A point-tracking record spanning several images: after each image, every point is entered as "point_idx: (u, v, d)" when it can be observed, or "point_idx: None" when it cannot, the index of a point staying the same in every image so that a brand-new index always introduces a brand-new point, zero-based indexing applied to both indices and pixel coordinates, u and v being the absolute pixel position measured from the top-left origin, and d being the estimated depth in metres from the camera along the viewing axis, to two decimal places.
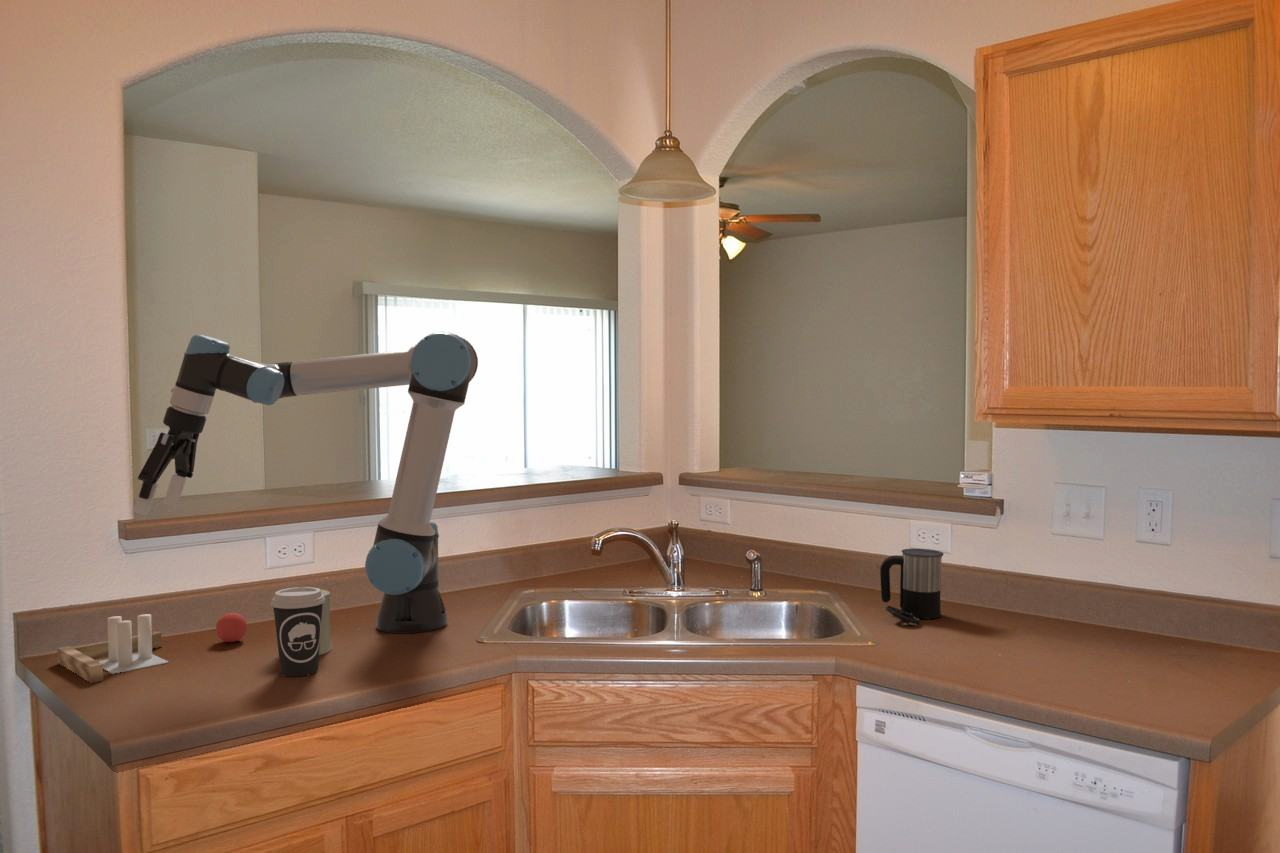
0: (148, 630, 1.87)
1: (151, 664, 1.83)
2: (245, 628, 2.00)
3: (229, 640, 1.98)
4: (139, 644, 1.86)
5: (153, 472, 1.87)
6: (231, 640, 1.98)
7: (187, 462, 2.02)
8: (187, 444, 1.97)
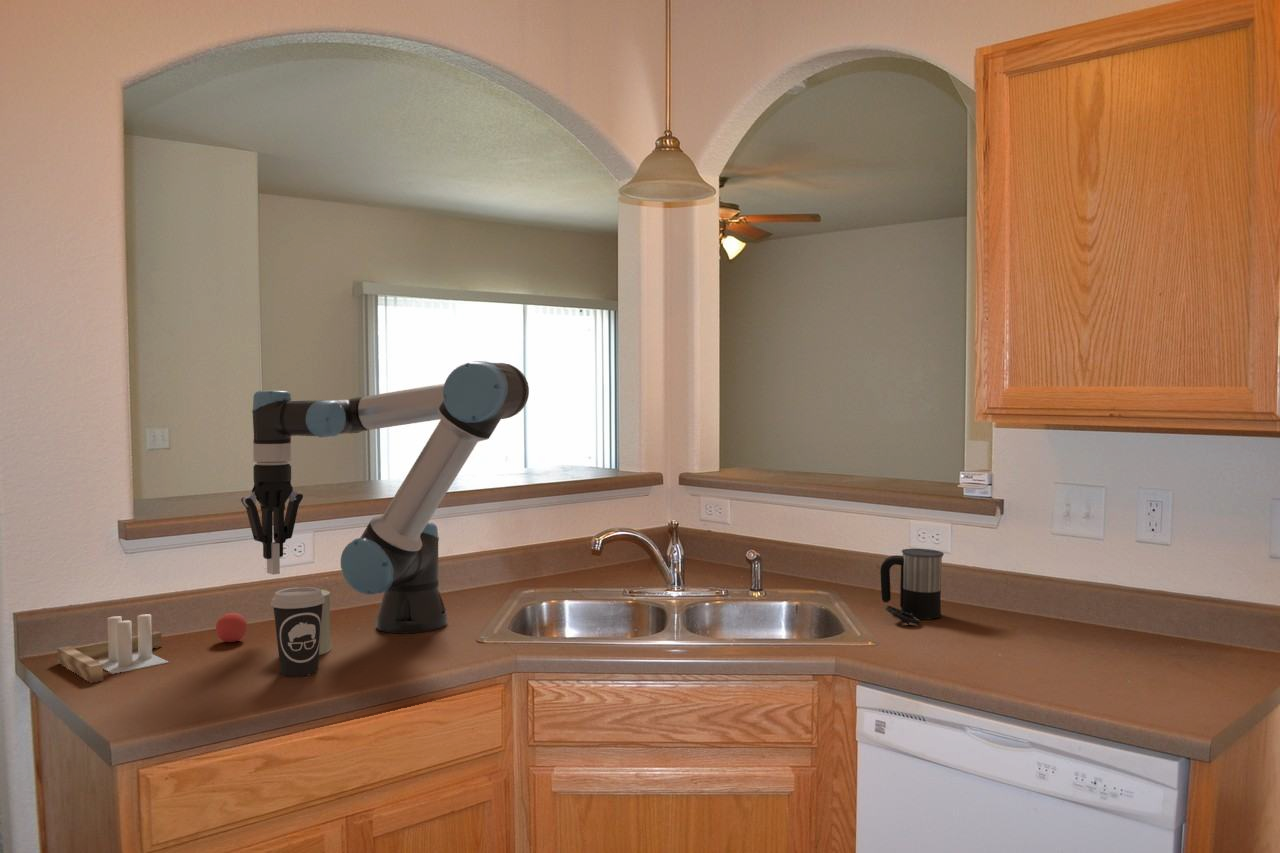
0: (148, 630, 1.87)
1: (151, 664, 1.83)
2: (245, 628, 2.00)
3: (229, 640, 1.98)
4: (139, 644, 1.86)
5: (257, 534, 2.03)
6: (231, 640, 1.98)
7: (281, 522, 2.06)
8: (279, 493, 2.05)
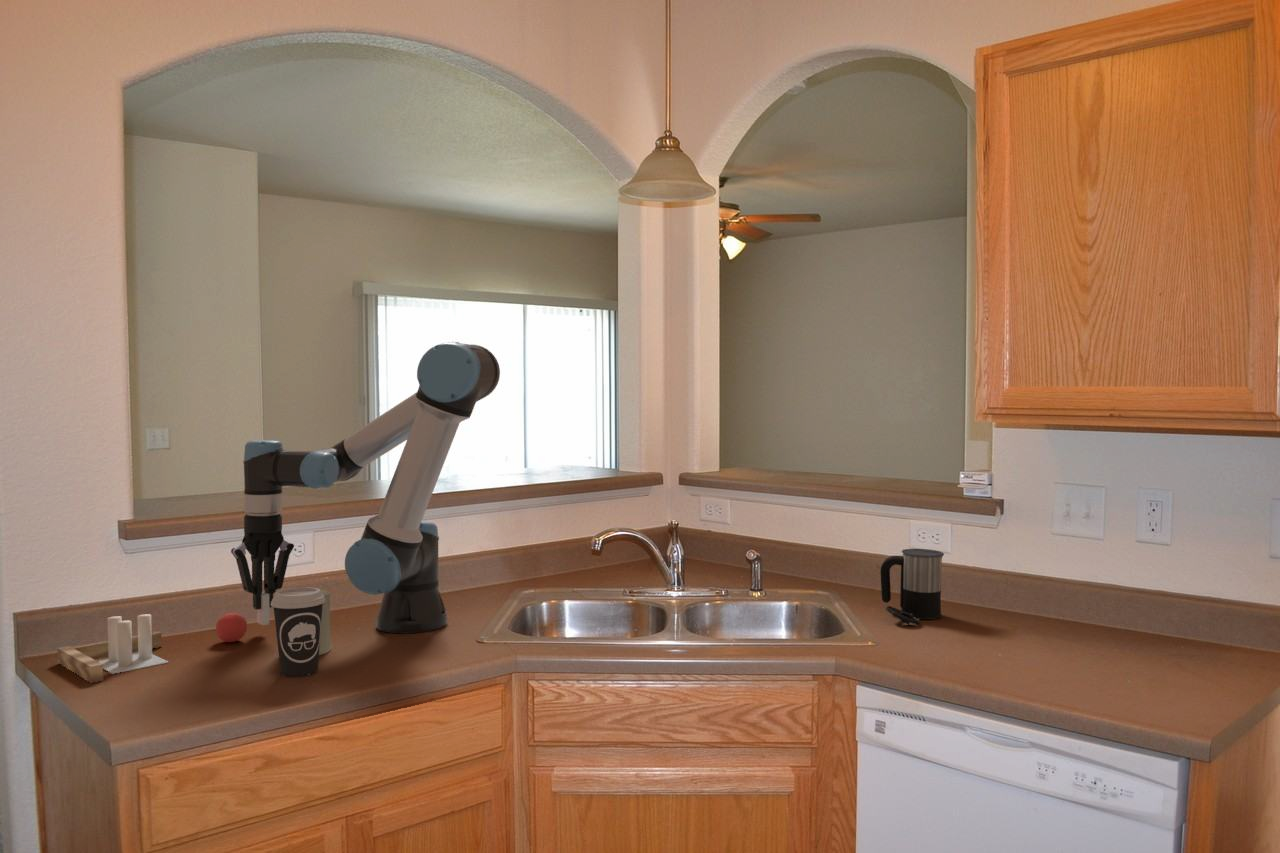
0: (148, 630, 1.87)
1: (151, 664, 1.83)
2: (245, 628, 2.00)
3: (229, 640, 1.98)
4: (139, 644, 1.86)
5: (246, 585, 2.02)
6: (231, 640, 1.98)
7: (271, 572, 2.05)
8: (269, 544, 2.04)
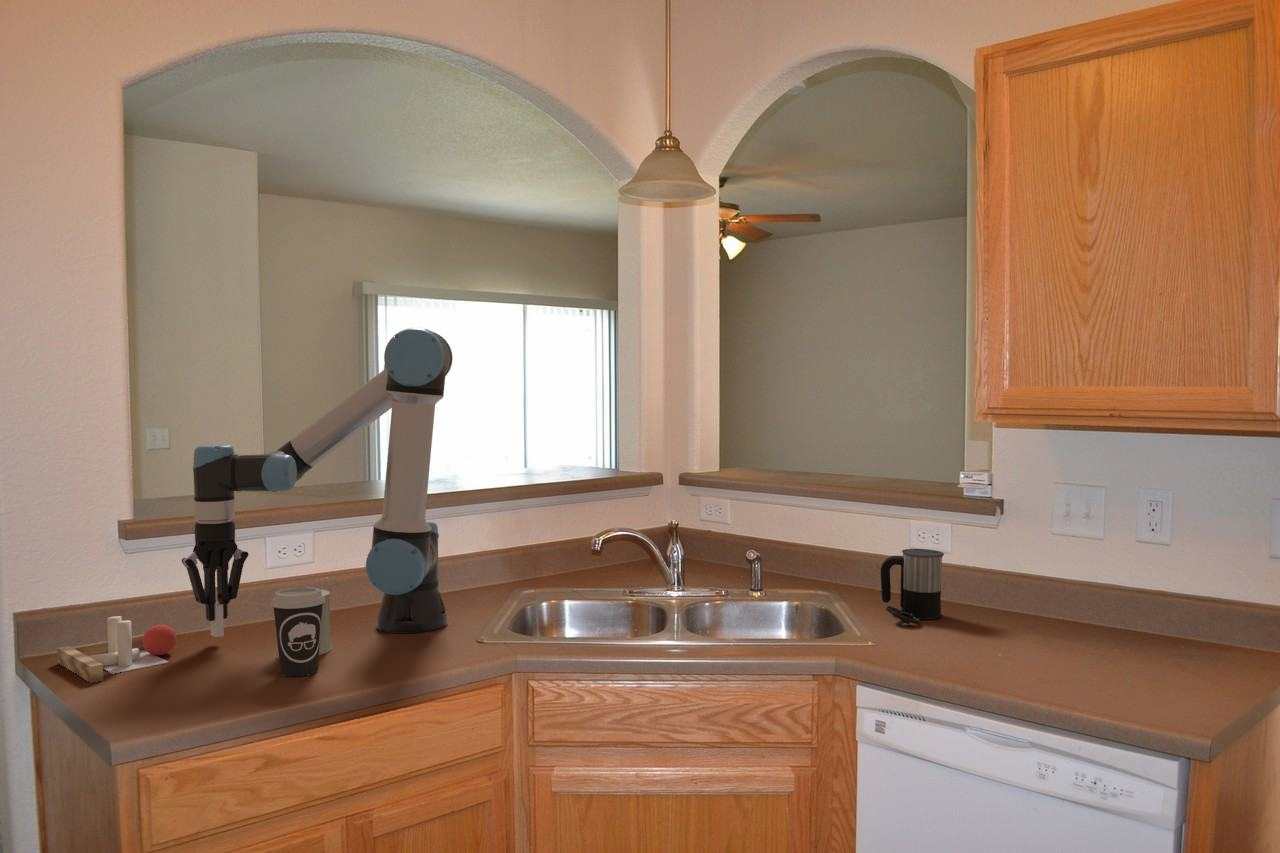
0: (107, 659, 1.82)
1: (151, 664, 1.83)
2: (160, 650, 1.88)
3: (153, 633, 1.88)
4: None
5: (198, 596, 1.94)
6: (152, 634, 1.88)
7: (225, 582, 1.98)
8: (222, 552, 1.96)
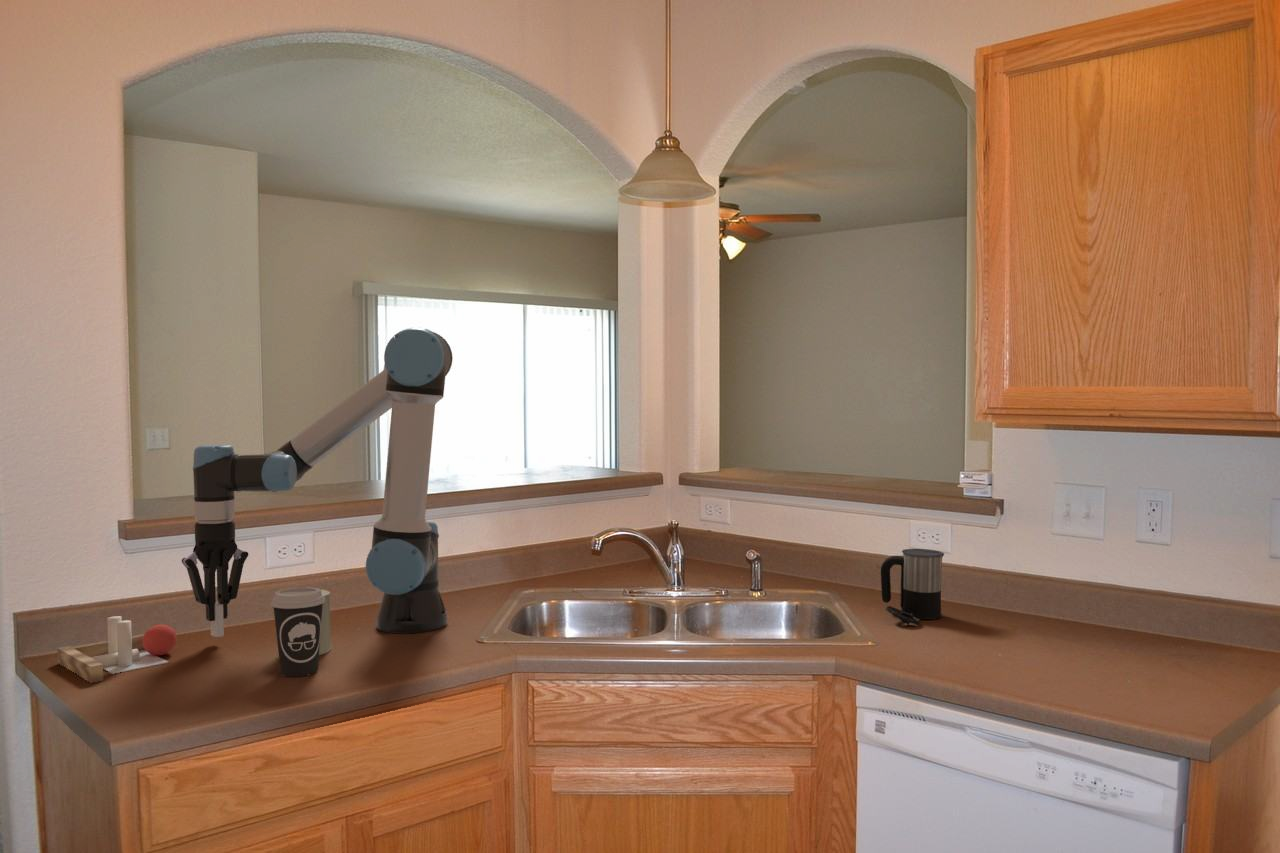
0: (106, 660, 1.82)
1: (151, 664, 1.83)
2: (160, 650, 1.88)
3: (152, 633, 1.88)
4: None
5: (198, 596, 1.94)
6: (152, 634, 1.88)
7: (225, 582, 1.98)
8: (222, 552, 1.96)
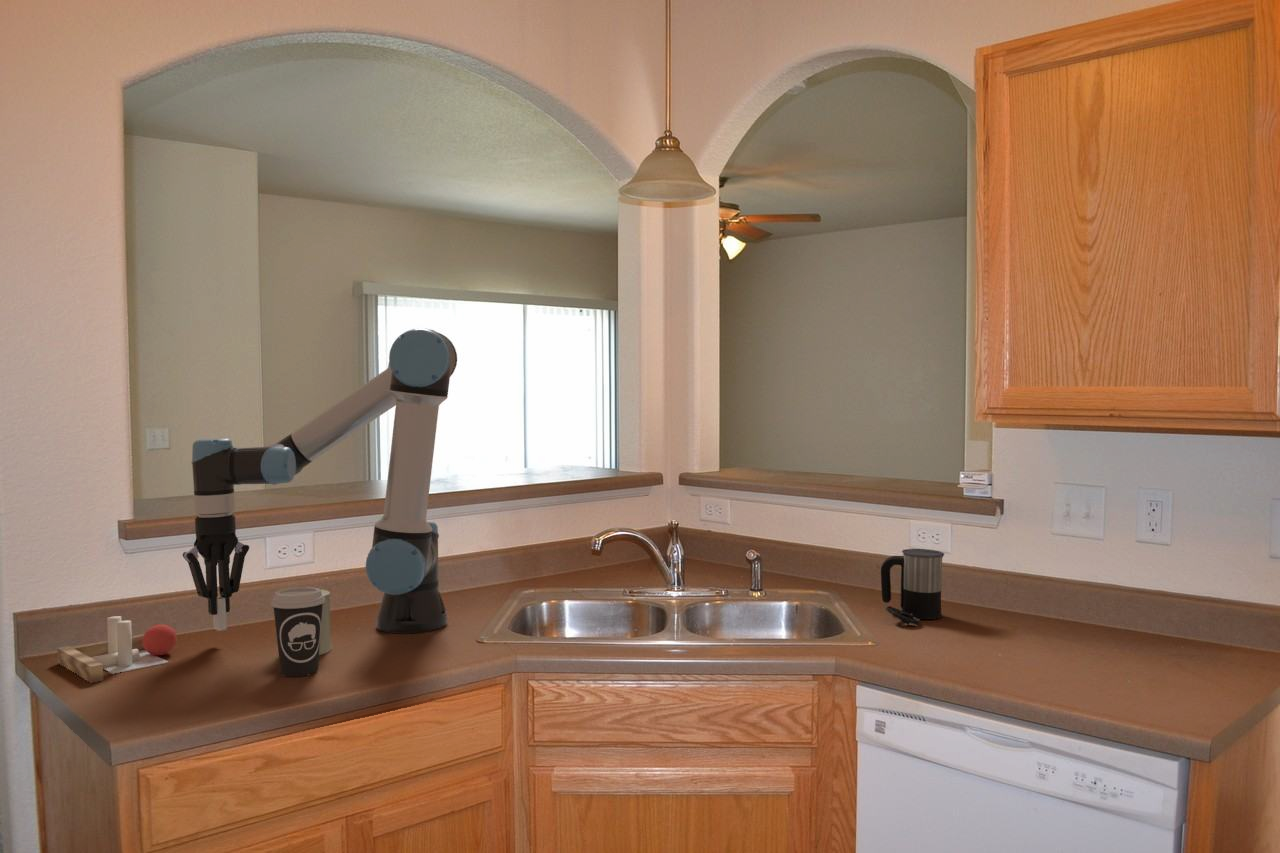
0: (106, 660, 1.82)
1: (151, 664, 1.83)
2: (160, 650, 1.88)
3: (152, 633, 1.88)
4: None
5: (200, 590, 1.94)
6: (152, 634, 1.88)
7: (226, 576, 1.98)
8: (223, 546, 1.96)
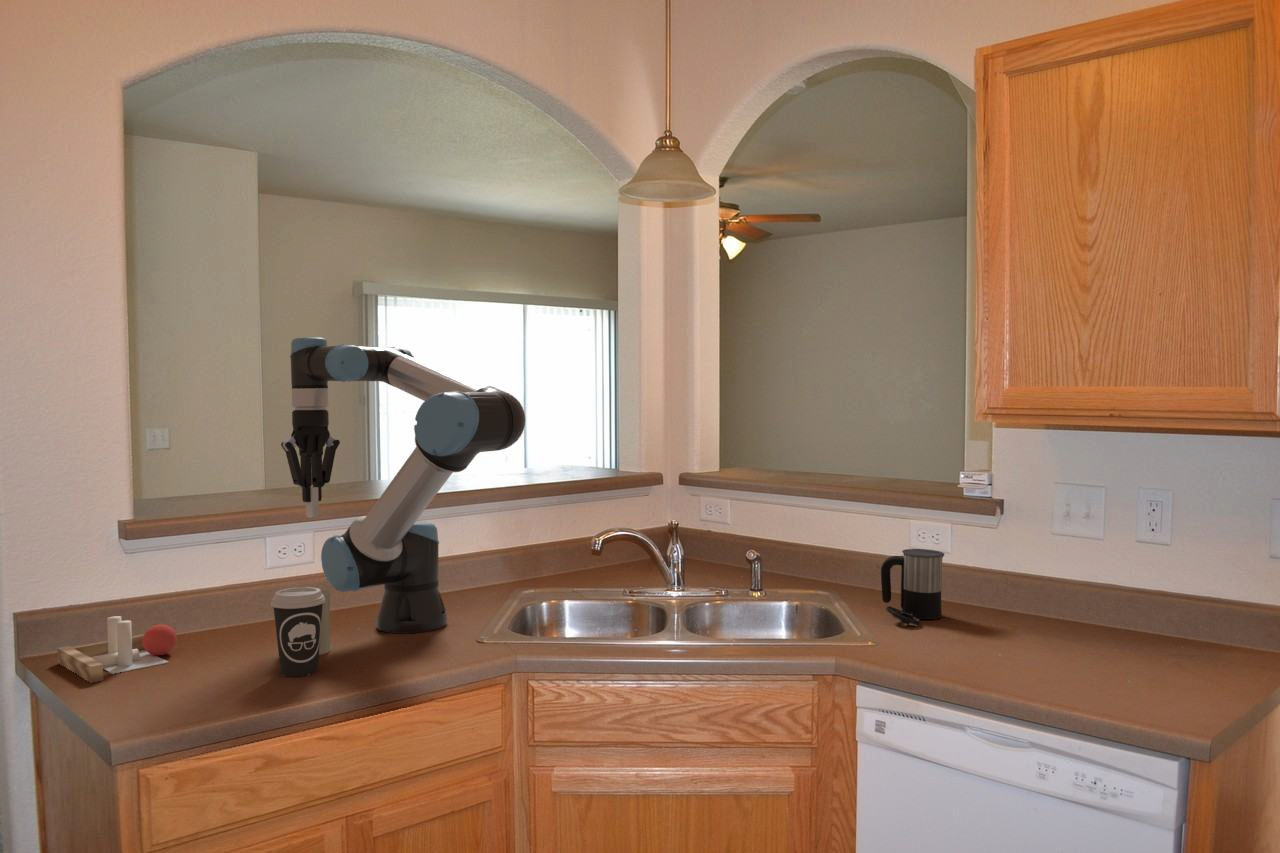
0: (106, 660, 1.82)
1: (151, 664, 1.83)
2: (160, 650, 1.88)
3: (152, 633, 1.88)
4: None
5: (297, 478, 2.07)
6: (152, 634, 1.88)
7: (320, 467, 2.11)
8: (317, 438, 2.10)
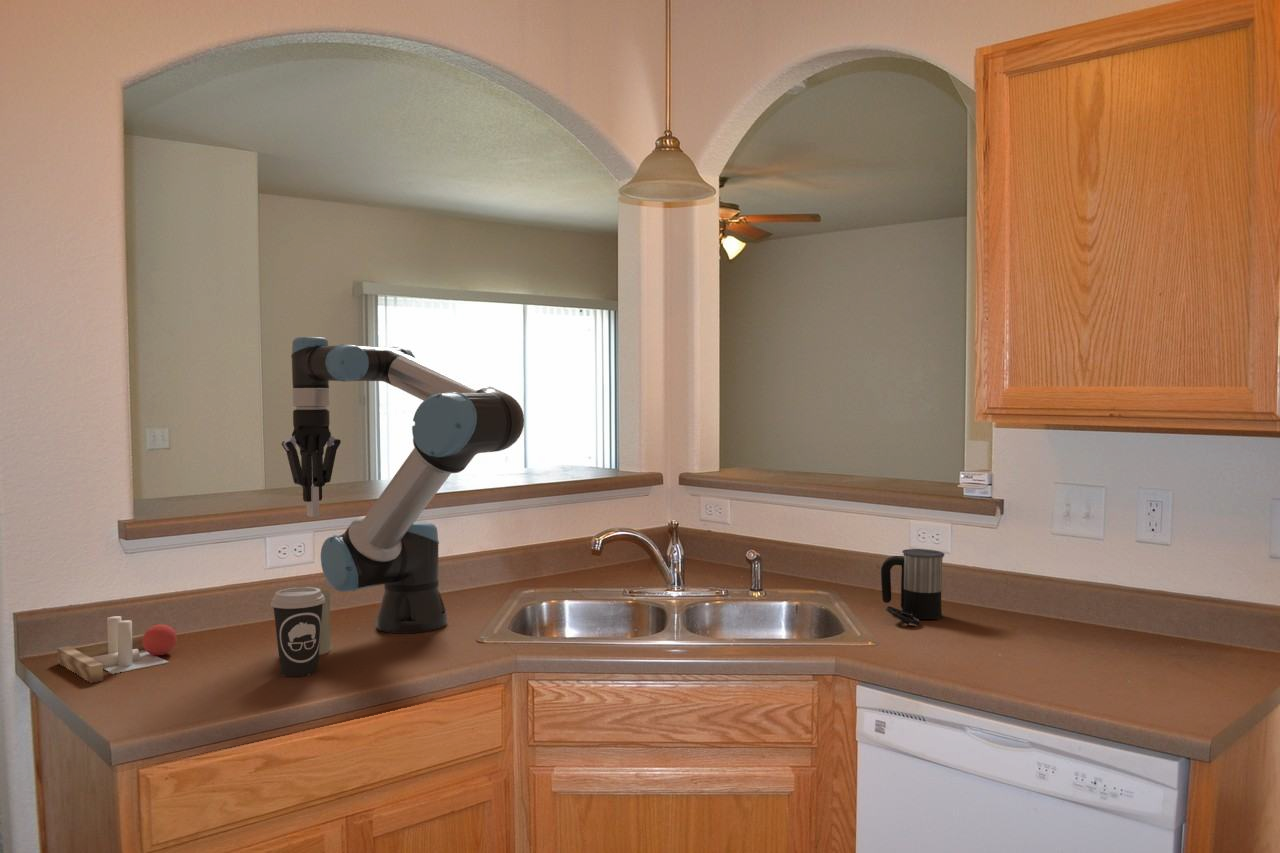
0: (106, 660, 1.82)
1: (151, 664, 1.83)
2: (160, 650, 1.88)
3: (152, 633, 1.88)
4: None
5: (297, 477, 2.08)
6: (152, 634, 1.88)
7: (320, 466, 2.11)
8: (318, 438, 2.10)
